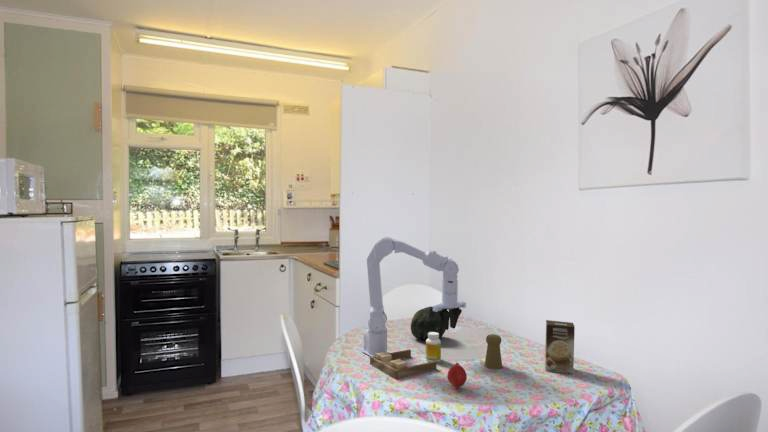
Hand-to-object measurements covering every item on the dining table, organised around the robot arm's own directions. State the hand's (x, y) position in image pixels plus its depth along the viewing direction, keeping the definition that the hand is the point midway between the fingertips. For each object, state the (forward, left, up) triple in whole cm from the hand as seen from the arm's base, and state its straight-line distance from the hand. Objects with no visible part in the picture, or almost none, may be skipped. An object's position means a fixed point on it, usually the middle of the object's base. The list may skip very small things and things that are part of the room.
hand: (449, 328), depth 165 cm
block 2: (+5, -26, -10) cm, 28 cm away
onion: (+24, -18, -11) cm, 32 cm away
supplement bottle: (0, -8, -11) cm, 13 cm away
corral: (0, -21, -10) cm, 23 cm away
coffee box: (+30, +23, -11) cm, 40 cm away
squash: (-22, +7, -11) cm, 26 cm away
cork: (+16, +6, -11) cm, 20 cm away
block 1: (-4, -26, -10) cm, 28 cm away
